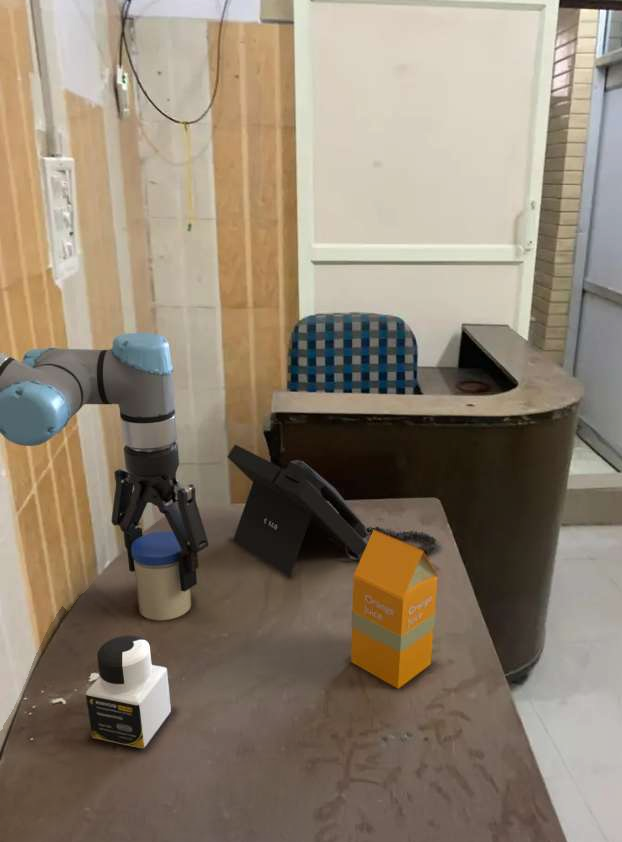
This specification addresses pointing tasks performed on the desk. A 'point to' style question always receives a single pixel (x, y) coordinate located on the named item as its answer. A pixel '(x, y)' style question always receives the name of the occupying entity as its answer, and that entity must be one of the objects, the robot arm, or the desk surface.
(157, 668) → the medicine bottle
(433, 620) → the orange juice
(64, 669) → the desk surface
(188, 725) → the desk surface
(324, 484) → the office phone
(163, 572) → the jar
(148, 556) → the jar lid
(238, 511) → the desk surface
